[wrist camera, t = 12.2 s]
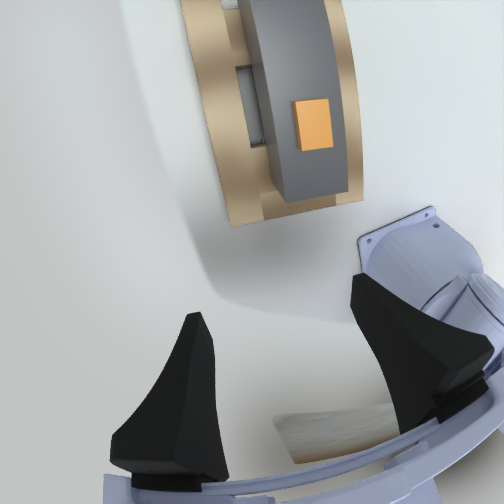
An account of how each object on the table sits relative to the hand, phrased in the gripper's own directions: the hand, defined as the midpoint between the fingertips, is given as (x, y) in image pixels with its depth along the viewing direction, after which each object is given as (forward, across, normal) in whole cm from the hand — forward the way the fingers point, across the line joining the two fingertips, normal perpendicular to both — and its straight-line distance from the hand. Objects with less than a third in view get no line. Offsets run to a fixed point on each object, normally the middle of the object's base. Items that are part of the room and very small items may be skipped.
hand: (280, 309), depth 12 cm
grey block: (+10, -3, -10) cm, 15 cm away
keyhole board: (+10, -3, -11) cm, 16 cm away
